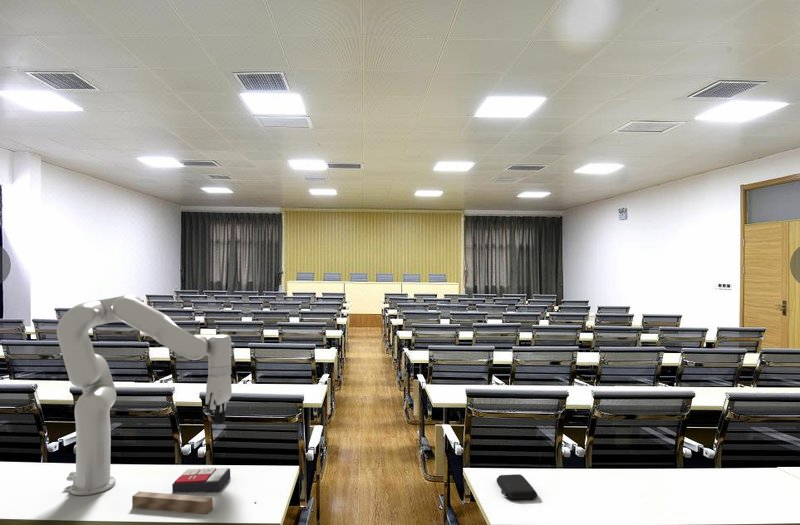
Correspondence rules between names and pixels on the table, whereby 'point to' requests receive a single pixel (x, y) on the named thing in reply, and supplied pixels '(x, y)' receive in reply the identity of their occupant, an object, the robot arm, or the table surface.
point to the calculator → (201, 480)
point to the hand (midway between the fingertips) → (219, 422)
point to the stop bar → (172, 502)
